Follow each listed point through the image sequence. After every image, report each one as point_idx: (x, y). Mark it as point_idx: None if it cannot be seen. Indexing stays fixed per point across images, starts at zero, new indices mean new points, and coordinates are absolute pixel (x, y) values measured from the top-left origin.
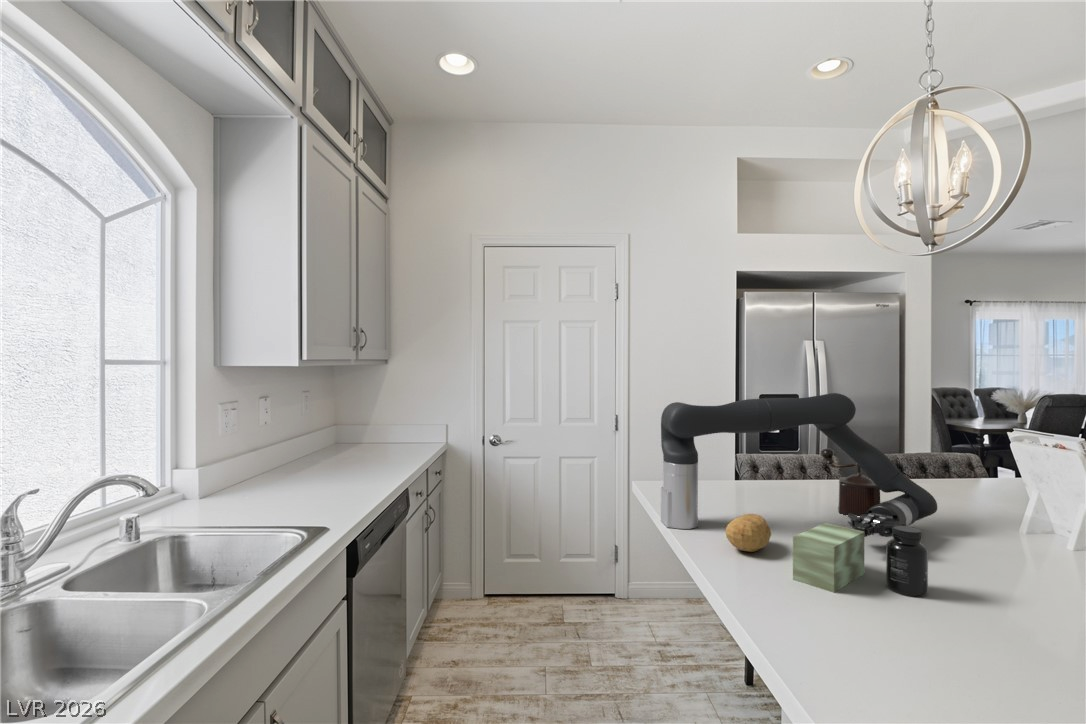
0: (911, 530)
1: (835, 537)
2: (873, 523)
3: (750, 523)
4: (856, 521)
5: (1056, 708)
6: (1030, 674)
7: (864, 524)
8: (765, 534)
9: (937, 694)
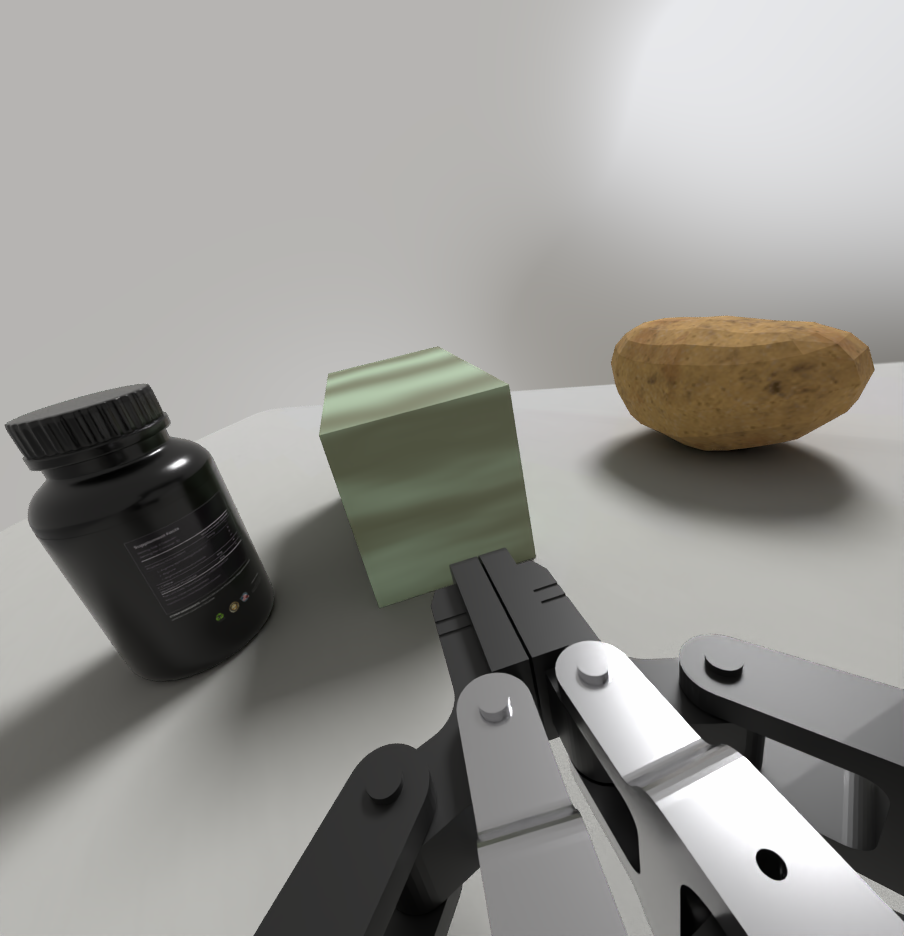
0: (62, 404)
1: (364, 381)
2: (478, 697)
3: (637, 329)
4: (697, 650)
5: (22, 524)
6: (10, 553)
7: (521, 615)
8: (641, 384)
9: None
